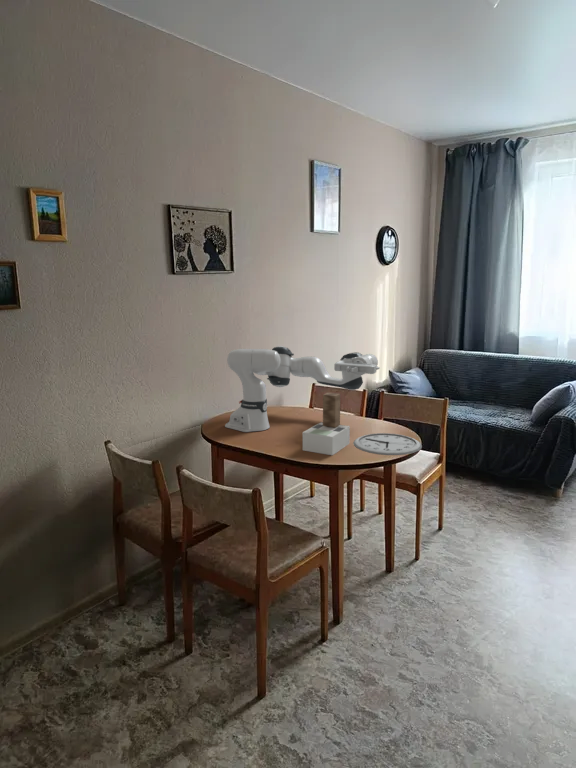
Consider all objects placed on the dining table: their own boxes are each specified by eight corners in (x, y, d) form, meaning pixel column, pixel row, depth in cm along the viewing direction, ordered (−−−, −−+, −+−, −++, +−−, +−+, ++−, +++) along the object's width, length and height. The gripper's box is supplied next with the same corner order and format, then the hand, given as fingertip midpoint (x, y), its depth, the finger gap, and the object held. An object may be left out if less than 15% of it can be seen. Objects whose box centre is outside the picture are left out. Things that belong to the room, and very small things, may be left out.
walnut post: (322, 425, 235) (322, 394, 232) (327, 423, 239) (327, 392, 236) (335, 427, 232) (335, 396, 229) (340, 424, 236) (340, 393, 233)
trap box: (302, 450, 229) (302, 432, 227) (321, 439, 244) (321, 421, 242) (332, 455, 222) (332, 436, 220) (349, 443, 237) (349, 425, 235)
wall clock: (436, 447, 227) (374, 456, 217) (436, 451, 227) (374, 460, 217) (398, 428, 254) (341, 436, 244) (398, 432, 255) (341, 439, 244)
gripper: (380, 374, 255) (370, 379, 243) (341, 370, 265) (329, 375, 253) (381, 361, 253) (370, 365, 242) (341, 358, 263) (329, 362, 252)
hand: (349, 370), depth 247 cm, fingers closed
